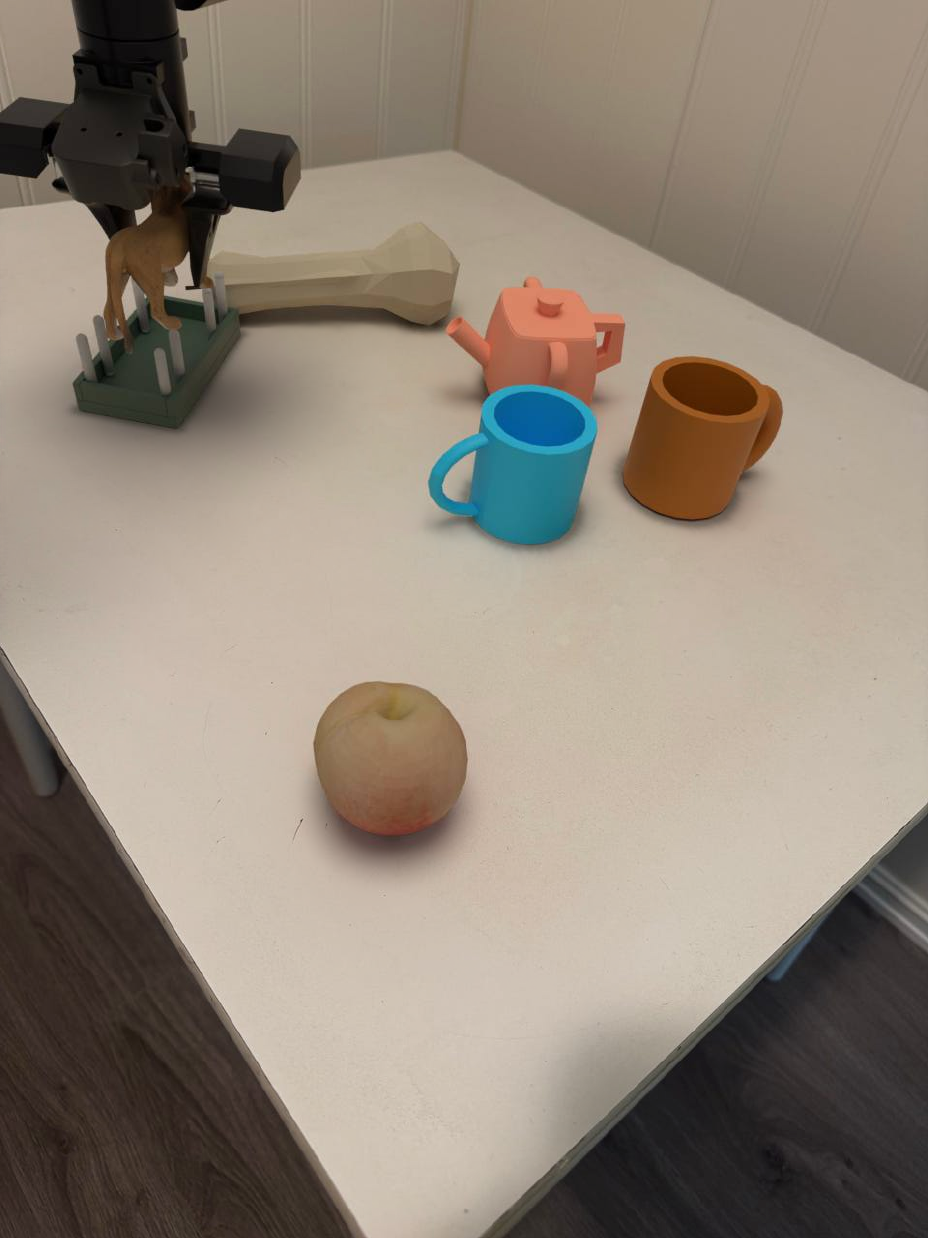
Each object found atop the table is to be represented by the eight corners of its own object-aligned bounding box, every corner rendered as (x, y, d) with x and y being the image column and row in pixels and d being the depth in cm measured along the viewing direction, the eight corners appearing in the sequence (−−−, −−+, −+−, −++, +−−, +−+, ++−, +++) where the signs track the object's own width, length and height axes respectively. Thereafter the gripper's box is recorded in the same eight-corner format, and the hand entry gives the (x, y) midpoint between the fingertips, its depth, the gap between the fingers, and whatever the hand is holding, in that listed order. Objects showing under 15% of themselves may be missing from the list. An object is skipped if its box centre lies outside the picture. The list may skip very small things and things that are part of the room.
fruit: (451, 734, 52) (466, 648, 46) (464, 859, 47) (482, 779, 41) (315, 737, 51) (312, 648, 45) (313, 865, 46) (309, 783, 40)
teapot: (434, 397, 76) (443, 291, 68) (519, 349, 82) (536, 247, 75) (540, 460, 71) (562, 353, 64) (621, 403, 78) (649, 301, 71)
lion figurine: (162, 252, 68) (140, 128, 62) (231, 261, 68) (216, 138, 62) (94, 357, 59) (58, 223, 52) (173, 366, 59) (147, 234, 52)
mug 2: (783, 520, 69) (830, 425, 63) (637, 521, 67) (670, 423, 61) (745, 450, 75) (784, 356, 68) (610, 449, 73) (637, 352, 67)
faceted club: (469, 332, 81) (191, 348, 77) (451, 309, 88) (194, 323, 84) (470, 228, 77) (172, 240, 72) (450, 213, 84) (178, 223, 79)
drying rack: (78, 410, 69) (60, 339, 65) (154, 318, 79) (143, 251, 75) (177, 428, 69) (166, 358, 64) (240, 334, 79) (234, 267, 74)
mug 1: (545, 466, 71) (564, 377, 65) (593, 532, 66) (619, 443, 60) (405, 492, 67) (411, 400, 61) (445, 564, 62) (457, 473, 56)
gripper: (-104, 44, 46) (-14, 318, 57) (252, 95, 46) (270, 358, 58) (-8, -11, 53) (54, 242, 65) (298, 34, 54) (306, 277, 65)
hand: (167, 279), depth 63 cm, fingers closed on lion figurine, 4 cm apart
